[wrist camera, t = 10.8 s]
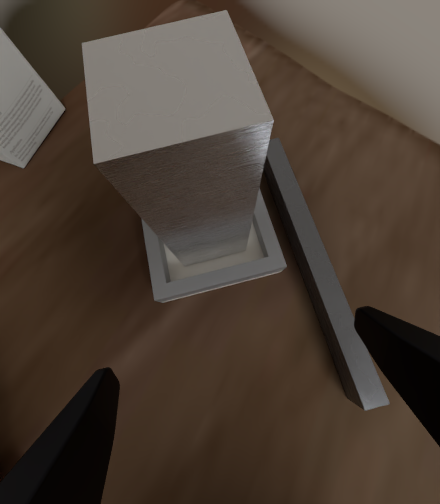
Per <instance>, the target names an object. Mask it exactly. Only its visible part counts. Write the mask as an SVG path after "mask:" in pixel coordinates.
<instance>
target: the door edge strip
mask: <svg viewBox="0 0 440 504" xmlns="http://www.w3.org/2000/svg"><path fill="white" fill-rule="evenodd" d="M263 171H264V174H265V177H266V179H267V182H268V185H269V187H270V190H271V193H272V195H273V198H274V201H275V204H276V206H277V209H278V212H279V214H280V217H281V220H282V222H283V225H284V228H285V231H286V233H287V236H288V239H289V241H290V244H291V247H292V249H293V252H294V255H295V258H296V260H297V263H298V266H299V268H300V271H301V274H302V276H303V279H304V282H305V285H306V287H307V290H308V293H309V295H310V298H311V301H312V303H313V306H314V309H315V312H316V314H317V317H318V320H319V322H320V325H321V328H322V330H323V333H324V336H325V339H326V341H327V344H328V347H329V349H330V352H331V355H332V357H333V360H334V363H335V366H336V368H337V371H338V374H339V376H340V379H341V382H342V385H343V387H344V390H345V393H346V395H347V398H348V399H349V400H350V401H352V402H353V403H355V404H356V405H358V406H359V407H361V408H362V409H364V410H365V411H366V410H369V409H373V408H376V407H380V406H384V405H387V404H390V403H389V401H388V398H387V396H386V393H385V391H384V389H383V386H382V384H381V381H380V379H379V377H378V374H377V372H376V370H375V367H374V365H373V362H372V360H371V358H370V355H369V353H368V350H367V348H366V346H365V345H364V343H363V342H362V340H361V338H360V337H359V335H358V334H357V332H356V330H355V328H354V317H353V314H352V312H351V310H350V307H349V305H348V303H347V300H346V298H345V295H344V293H343V291H342V288H341V286H340V283H339V281H338V279H337V276H336V274H335V271H334V269H333V267H332V264H331V262H330V259H329V257H328V255H327V252H326V250H325V247H324V245H323V243H322V240H321V238H320V235H319V233H318V231H317V228H316V226H315V224H314V221H313V219H312V216H311V214H310V212H309V209H308V207H307V204H306V202H305V200H304V197H303V195H302V192H301V190H300V188H299V185H298V183H297V180H296V178H295V176H294V173H293V171H292V168H291V166H290V164H289V161H288V159H287V157H286V154H285V152H284V149H283V147H282V145H281V142H280V140H279V138H275V139H271V140H269V144H268V149H267V154H266V158H265V163H264V168H263Z"/></svg>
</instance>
